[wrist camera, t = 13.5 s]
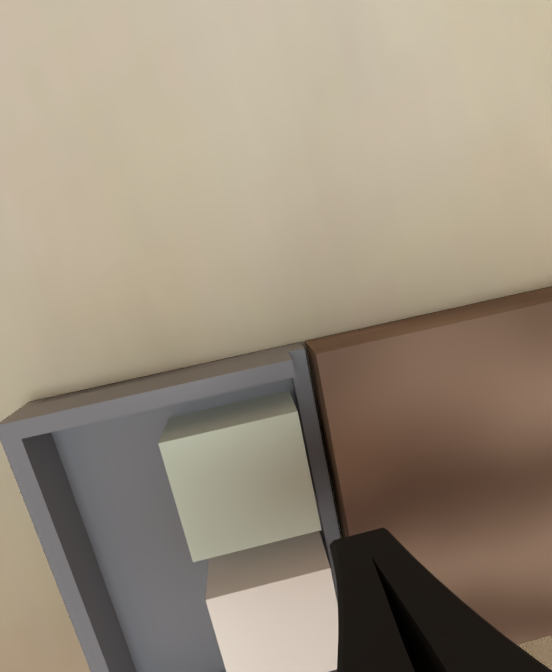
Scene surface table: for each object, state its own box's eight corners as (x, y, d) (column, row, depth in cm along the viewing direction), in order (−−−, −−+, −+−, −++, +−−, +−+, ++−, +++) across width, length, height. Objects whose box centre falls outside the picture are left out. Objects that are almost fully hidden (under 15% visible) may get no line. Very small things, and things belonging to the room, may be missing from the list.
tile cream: (336, 617, 17) (349, 665, 15) (234, 644, 16) (233, 697, 14) (318, 529, 16) (330, 568, 14) (209, 556, 15) (205, 600, 13)
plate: (644, 559, 18) (693, 595, 16) (360, 635, 17) (376, 683, 15) (648, 265, 15) (709, 266, 13) (305, 341, 14) (315, 354, 12)
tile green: (310, 495, 15) (321, 530, 13) (198, 522, 15) (192, 562, 13) (288, 390, 14) (297, 411, 12) (169, 417, 14) (158, 443, 12)
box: (356, 637, 17) (372, 685, 15) (136, 696, 17) (123, 754, 15) (299, 342, 14) (310, 355, 12) (28, 402, 14) (-6, 426, 12)
